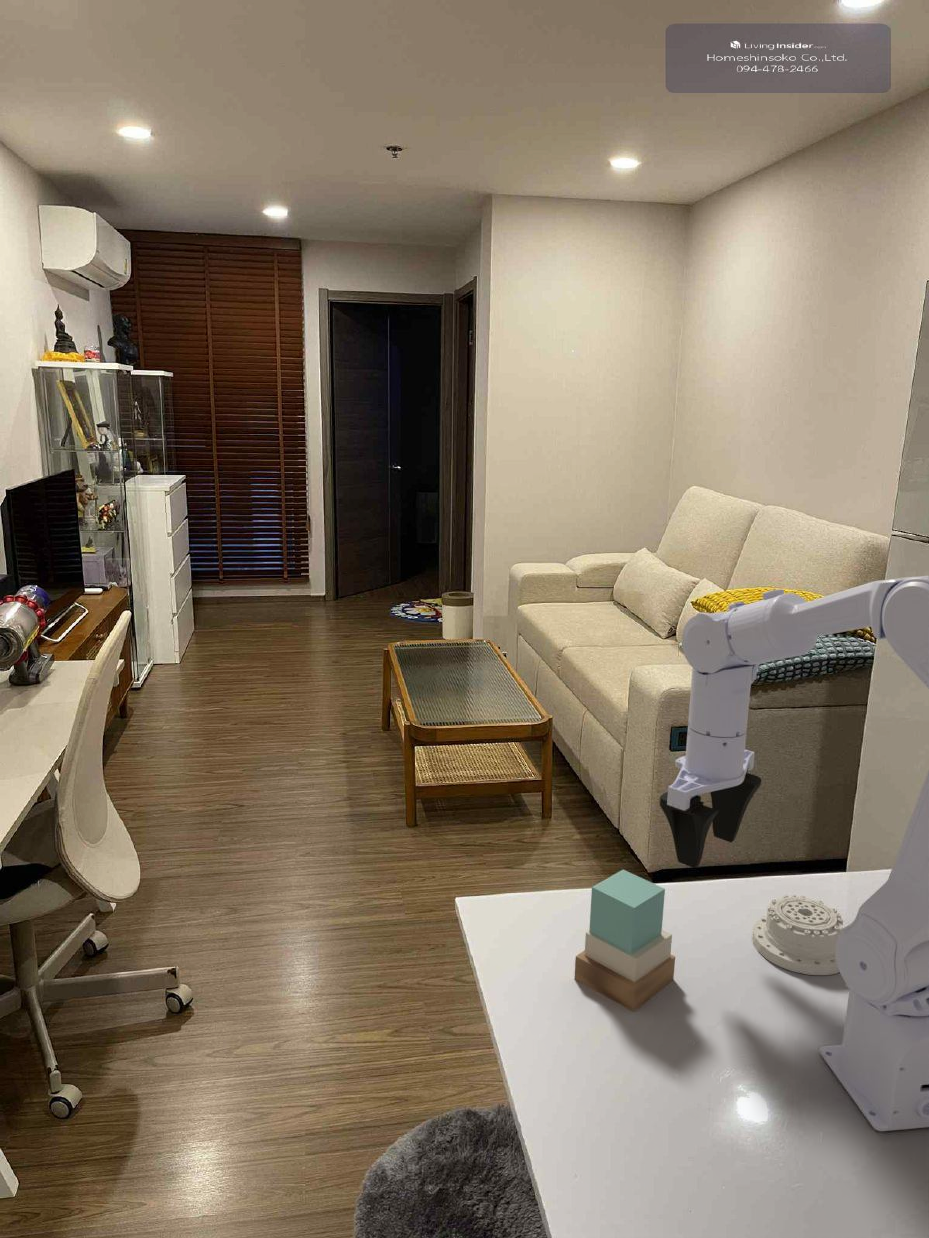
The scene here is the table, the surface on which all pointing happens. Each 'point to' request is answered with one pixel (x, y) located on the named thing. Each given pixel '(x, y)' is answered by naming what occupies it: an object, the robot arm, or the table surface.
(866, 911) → the robot arm
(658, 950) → the slab top
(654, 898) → the cube
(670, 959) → the slab base
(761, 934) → the mechanical component
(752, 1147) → the table surface
